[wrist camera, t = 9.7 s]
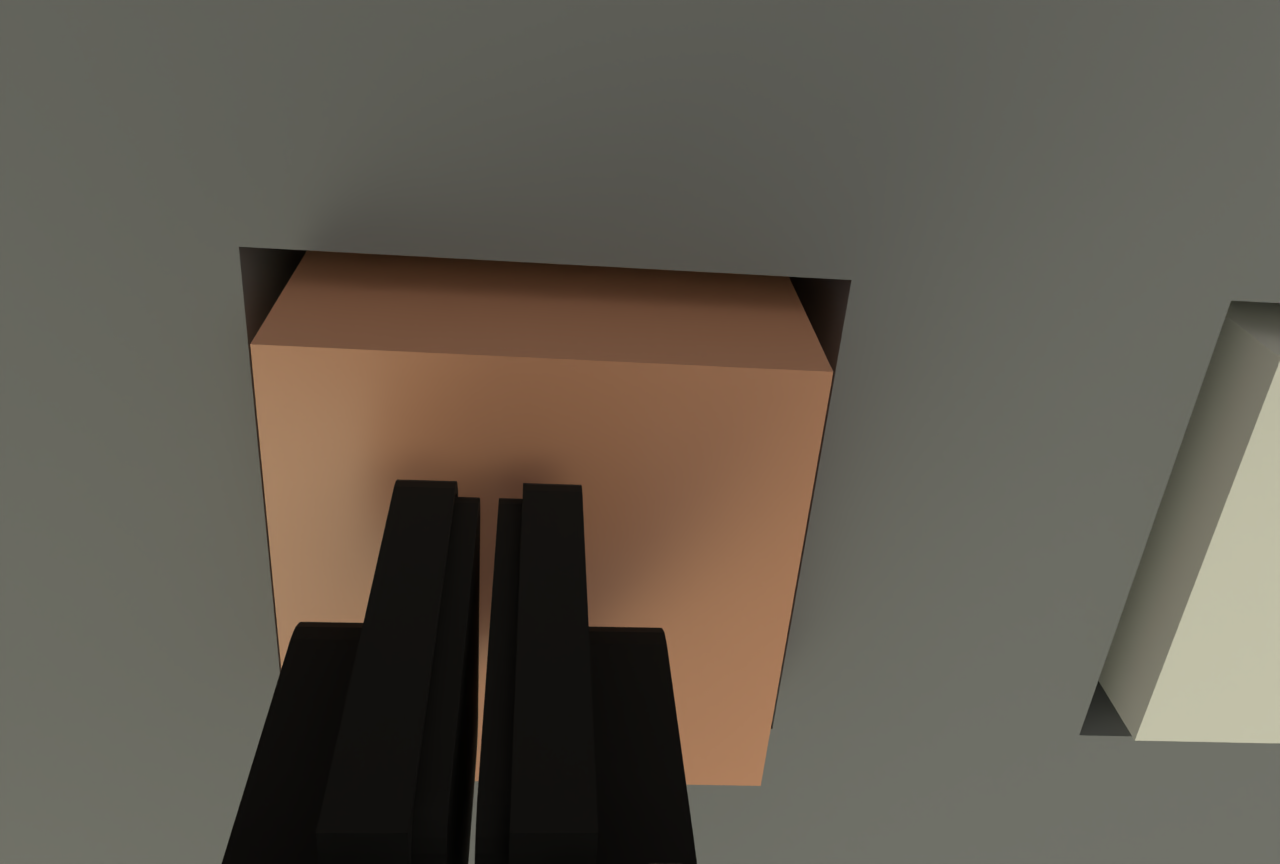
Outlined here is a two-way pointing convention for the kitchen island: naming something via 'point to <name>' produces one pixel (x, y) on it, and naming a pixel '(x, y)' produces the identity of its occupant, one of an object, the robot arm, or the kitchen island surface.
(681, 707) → the terracotta brown block
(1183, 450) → the cream cube block
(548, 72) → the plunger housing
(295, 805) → the robot arm
